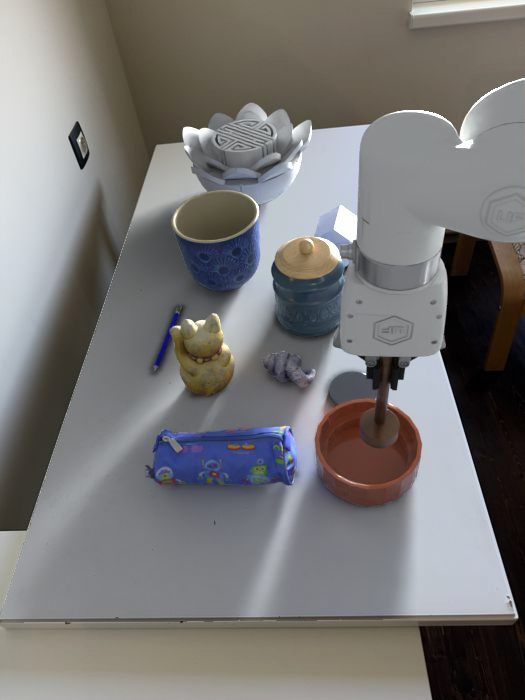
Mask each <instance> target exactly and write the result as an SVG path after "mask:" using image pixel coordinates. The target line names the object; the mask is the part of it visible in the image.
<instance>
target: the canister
mask: <svg viewBox="0 0 525 700" xmlns="http://www.w3.org/2000/svg"><path fill="white" fill-rule="evenodd" d="M344 271H345V267H344V262H343V260H342V259H340V255H339V251H338V249H337V248H336V246H335V245H334V244H332V243H331V242H329V241H327V240H325V239H322V238H318V237H314V236H301V237H296V238H294V239H291V240H288V241H286V242H285V243H283V244H282V245H281V246H279V248H278V249H277V250H276V253H275V254H274V260H273V261H272V264H271V267H270V273H271V276H272V289H273V292H274V299H275V315H276V318H277V321H278V322H279V324H280V326H281V327H282V328H283V330H285V331H287V332H288V333H290V334H292V335H295V336H297V337H304V338H313V337H320V336H323V335H326V334H328V333H330V332H331V331H333V330H334V329H336V328H337V327H338V326H339V324H340V316H341V301H342V292H343V286H344V281H345V276H344Z"/></svg>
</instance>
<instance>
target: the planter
mask: <svg viewBox="0 0 525 700" xmlns="http://www.w3.org/2000/svg"><path fill="white" fill-rule="evenodd" d="M259 209H260V208H259V205H258V204H256V202H255V201H254V200H253V199H252V198H250V197H249V196H247V195H245V194H243V193H240V192H236V191H229V190H217V191H210V192H207V191H206V192H202V193H199V194H196V195H194V196H191V197H189V198H188V199H186V200H185V201H182V203H180V204H179V205H178V207H176V209H175V210H174V212H173V213H172V215H171V219H170V226H171V228H172V231H173V234H174V236H175V241H176V243H177V246H178V248H179V251H180V254H181V257H182V259H183V262H184V265H185V268H186V270H187V271H188V273H189V274H190V276H191V277H192V279H193V280H194V281H195V282H196V283H198V284H199V285H200V286H201V287H204V288H206V289H209V290H212V291H221V292H223V291H230V290H235V289H238V288H239V287H242V286H243V285H245V284H246V283H247V282H248V281H250V280H251V279H252V278H253V277H254V275H255V274H256V272H257V270H258V268H259V265H260V261H261V231H260V210H259Z"/></svg>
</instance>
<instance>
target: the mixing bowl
mask: <svg viewBox="0 0 525 700" xmlns="http://www.w3.org/2000/svg"><path fill="white" fill-rule="evenodd" d="M375 406H376V400H373V399H358V400H351V401H348V402H345V403H342V404H340V405H338V406H337V405H335V407H333V408H332V409H330V410H329V411H328V412H327V413H326V414H325V415H324V416H323V418H322V419H321V420H320V422H319V423H318V424H317V428H316V432H315V434H314V435H315V436H314V450H315V451H314V452H315V463H316V464H315V465H316V471H317V474H318V475H319V477H320V479H321V481H322V482H323V485H324V486H325V487H326V488H327V489H328V490H329V491H330V492H331V493H332V494H333V495H334V496H336V497H337V498H339V499H341V500H342V501H343V500H344V501H345V502H347V503H349V504H353V505H356V506H362V507H377V506H378V507H379V506H384V505H387V504H390V503H393V502H394V501H397V500H399V499H400V498H402V497H403V496H404V495H405V494H406V493H407V492H409V490H411V488H412V486H413V484H414V483H415V480H416V478H417V476H418V474H419V473H418V471H419V468H420V463H421V457H422V449H423V442H422V437H421V434H420V431H419V429H418V427H417V425H416V424H415V422H414V421H413V420H412V418H411V417H410V416H409V415H408V414H406V413H405V412H404V410H403V411H402V409H401V408H399V407H397V406H395V405H393V404H391V403H388V404H387V409H388V410H390V411H391V412H393V413H394V414H395V415H396V416H397V418H398V420H399V424H400V427H399V433H398V438H397V440H396V442H395V443H394V444H393V445H391V446H389V447H387V448H373V447H371V446H369V445H367V444H366V443H365V442H364V441H363V440H362V439H361V437H360V434H359V425H360V418H361V416H362V415H363V413H364V412H366V411H367V410H369V409H372V408H375Z"/></svg>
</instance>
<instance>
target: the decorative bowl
mask: <svg viewBox="0 0 525 700" xmlns="http://www.w3.org/2000/svg"><path fill="white" fill-rule="evenodd" d="M311 139H312V120H311V119H306V120H305V121H302V122H301V123H299V124H298V125H297V126H295V127H294V125H293V123H292V122H291V121H290V117H289V115H288V113H287V111H286V110H285V109H284V108H280V109H277V110H275V111H273V112H272V113H271V114H270V115H267V112H265V110H264V109H263V108H262V107H260V106H259V105H258V104H256V103H254V102H248V103H247V104H245V105H244V106H243V107H242V108H241V109H240V110H239V111H238V113H237V114H236V117H235V119H234V118H232V117H231V116H229V115H227V114H225V113H223V112H216V113H214V114H213V115H212V116H211V118H210V120H209V122H208V126H207V127H202V128H200V129H197V128H194V127H191V126H184V127H183V129H182V140H183V144H184V147H183V148H184V152H185V154H186V156H187V157H188V159H189V160H190V162H191V163H192V166H190V169H191V174H193V175H196V178H197V180H198V181H199V183H200V185H201V186H202V188H204V190H205V191H206V192H210V191H217V190H229V191H236V192H240V193H243V194H245V195H247V196H249V197H250V198H252V199H253V200H254V201H255V202H256V204H257V205H262V204H267V203H269V202H272V201H274V200H275V199H277V198H279V197H280V196H282V195H283V194H285V192H286V191H287V190H288V189H289V188H290V187H291V185H292V184H293V182H294V181H295V179H296V177H297V175H298V174H299V170H300V168H301V162H302V153H303V152H304V151H305V150H306V149H307V148H308V146H309V144H310V141H311Z"/></svg>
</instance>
